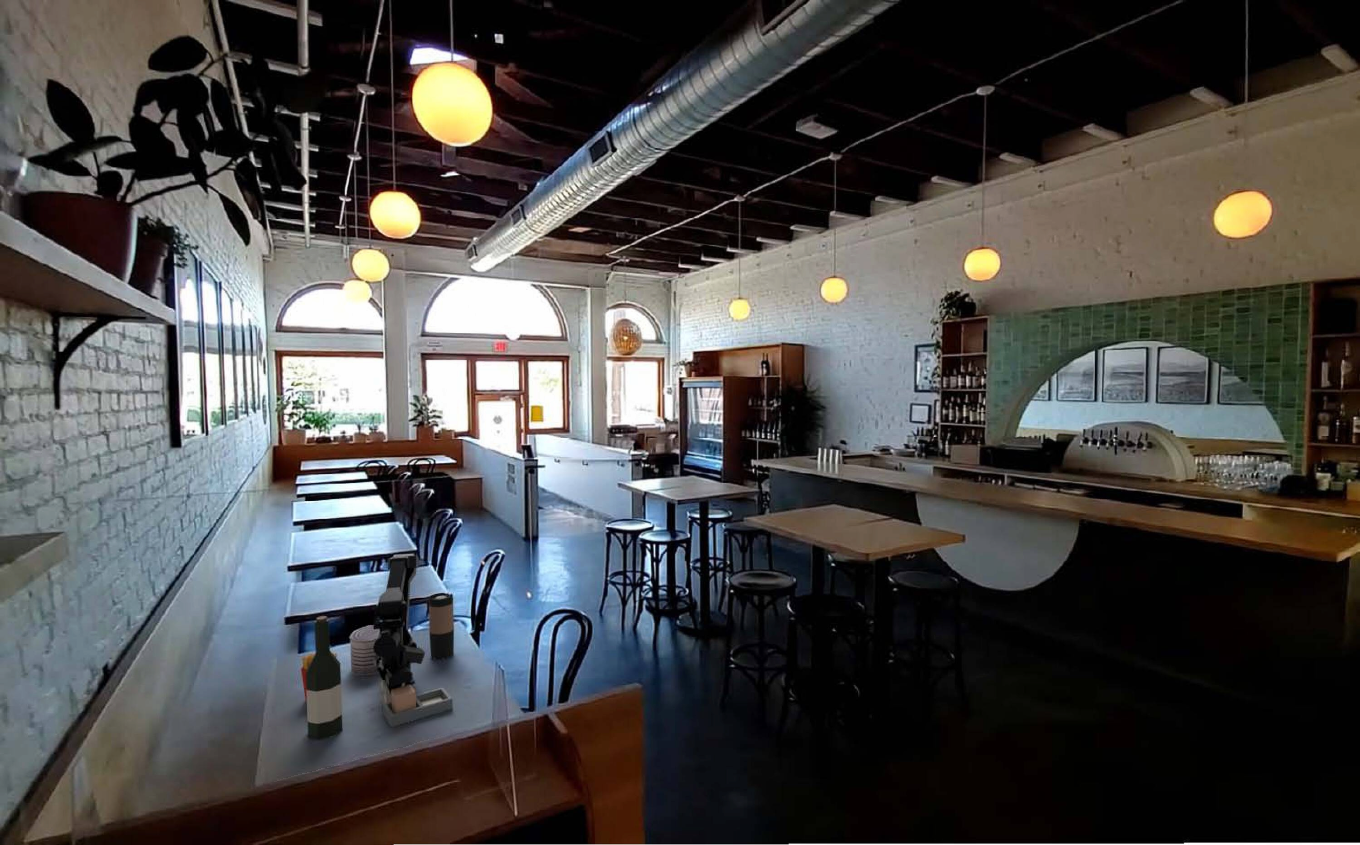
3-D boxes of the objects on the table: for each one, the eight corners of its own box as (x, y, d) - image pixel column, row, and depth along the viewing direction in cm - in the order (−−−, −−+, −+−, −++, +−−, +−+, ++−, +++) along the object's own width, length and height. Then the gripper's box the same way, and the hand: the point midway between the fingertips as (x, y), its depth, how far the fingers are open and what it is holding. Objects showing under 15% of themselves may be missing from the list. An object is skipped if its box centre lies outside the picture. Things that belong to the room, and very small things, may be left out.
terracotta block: (391, 711, 176) (391, 689, 176) (410, 705, 179) (410, 684, 179) (396, 718, 172) (396, 696, 172) (416, 713, 175) (415, 691, 175)
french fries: (300, 703, 183) (298, 658, 182) (306, 696, 187) (305, 652, 186) (335, 700, 184) (333, 656, 183) (340, 693, 188) (339, 650, 188)
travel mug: (431, 661, 210) (430, 601, 209) (428, 653, 217) (427, 594, 216) (456, 657, 214) (454, 597, 212) (452, 649, 220) (451, 591, 219)
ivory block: (381, 701, 184) (381, 680, 184) (400, 696, 187) (400, 676, 187) (386, 708, 180) (385, 687, 180) (405, 703, 183) (404, 682, 183)
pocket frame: (383, 714, 176) (383, 704, 176) (443, 697, 186) (442, 687, 186) (391, 727, 170) (390, 716, 170) (452, 709, 179) (452, 698, 179)
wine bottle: (316, 723, 172) (312, 612, 170) (349, 722, 173) (345, 611, 171) (300, 740, 164) (296, 624, 162) (335, 739, 164) (331, 623, 163)
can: (398, 665, 207) (397, 628, 207) (364, 679, 198) (363, 640, 197) (377, 657, 213) (376, 622, 213) (343, 670, 204) (342, 633, 203)
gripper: (431, 646, 180) (432, 701, 181) (412, 626, 195) (413, 677, 196) (388, 656, 173) (390, 713, 174) (372, 635, 188) (374, 687, 189)
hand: (393, 696), depth 183 cm, fingers closed on ivory block, 5 cm apart
